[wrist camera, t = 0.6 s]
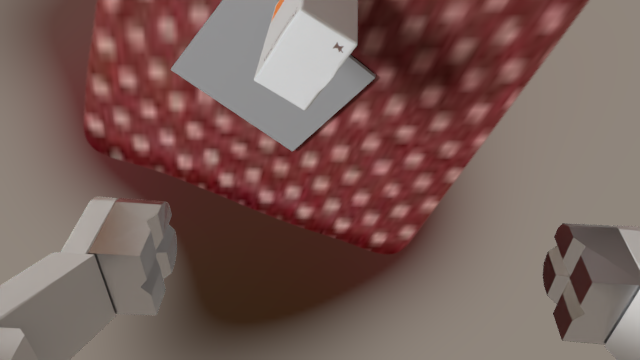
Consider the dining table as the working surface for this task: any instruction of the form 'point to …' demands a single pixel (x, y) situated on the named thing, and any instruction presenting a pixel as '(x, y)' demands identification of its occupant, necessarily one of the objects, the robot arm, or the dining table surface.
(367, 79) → the mat
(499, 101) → the dining table surface
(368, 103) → the dining table surface
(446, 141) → the dining table surface
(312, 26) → the skincare box
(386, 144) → the dining table surface
